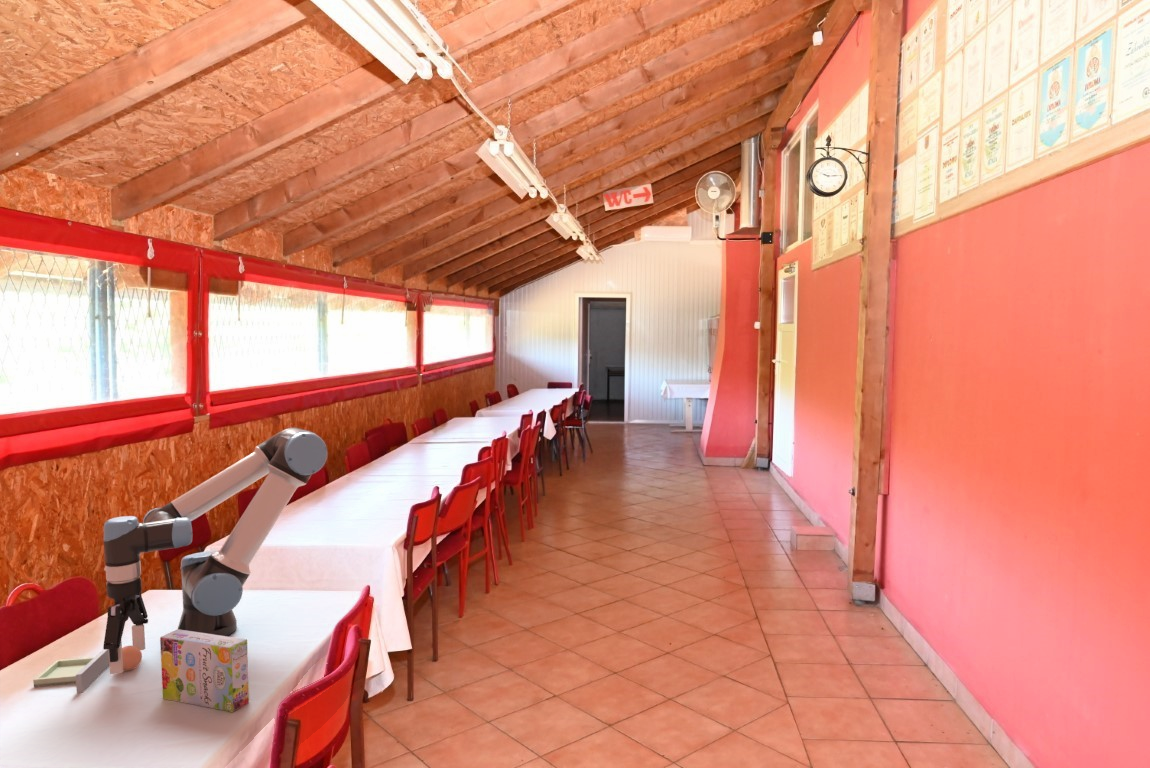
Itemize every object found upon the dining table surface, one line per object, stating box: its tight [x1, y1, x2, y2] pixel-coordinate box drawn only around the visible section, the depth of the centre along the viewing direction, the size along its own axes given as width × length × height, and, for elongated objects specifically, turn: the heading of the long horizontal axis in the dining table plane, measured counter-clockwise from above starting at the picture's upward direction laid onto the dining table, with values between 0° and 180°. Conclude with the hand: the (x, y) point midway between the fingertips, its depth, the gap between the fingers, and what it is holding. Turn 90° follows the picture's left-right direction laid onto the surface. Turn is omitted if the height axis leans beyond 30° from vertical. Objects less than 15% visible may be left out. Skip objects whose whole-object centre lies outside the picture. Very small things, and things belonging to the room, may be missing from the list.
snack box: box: [159, 628, 250, 713], centre depth 170 cm, size 21×6×15 cm, turn 71°
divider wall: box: [75, 641, 123, 694], centre depth 185 cm, size 1×22×4 cm, turn 10°
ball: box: [122, 645, 143, 672], centre depth 186 cm, size 6×6×6 cm
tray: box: [33, 656, 95, 688], centre depth 184 cm, size 11×11×2 cm
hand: (128, 661), depth 187 cm, fingers open, 13 cm apart
